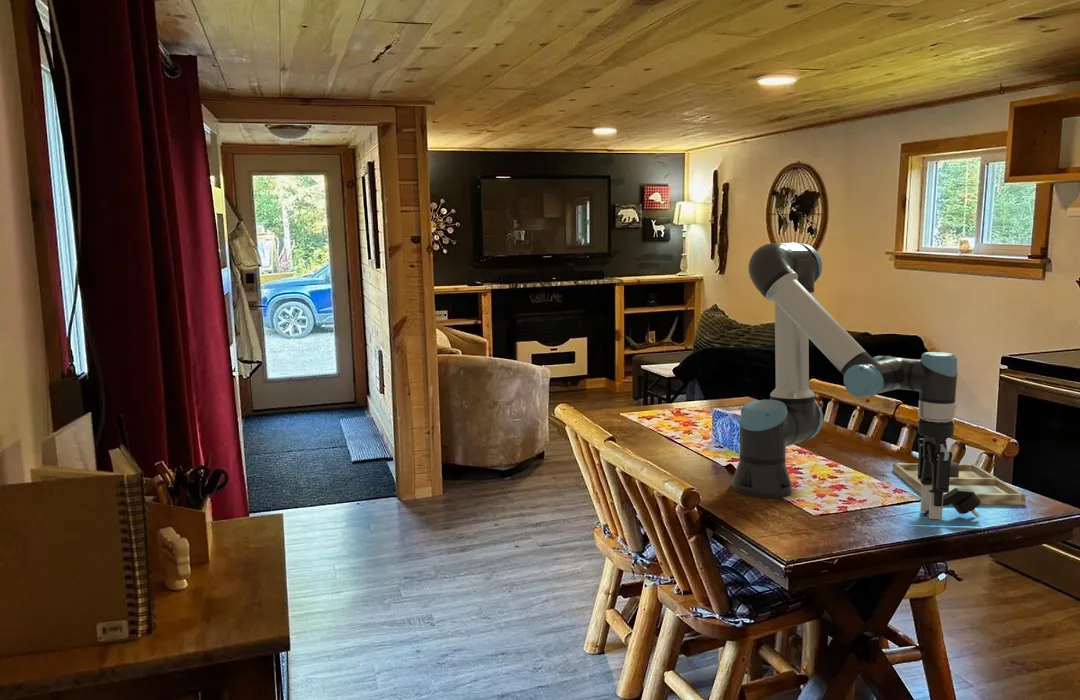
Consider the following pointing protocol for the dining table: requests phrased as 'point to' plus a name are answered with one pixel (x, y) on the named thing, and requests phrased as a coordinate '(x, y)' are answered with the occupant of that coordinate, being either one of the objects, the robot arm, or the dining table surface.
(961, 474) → the organizer
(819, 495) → the dining table surface
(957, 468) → the dark gray rounded block
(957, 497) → the power plug
